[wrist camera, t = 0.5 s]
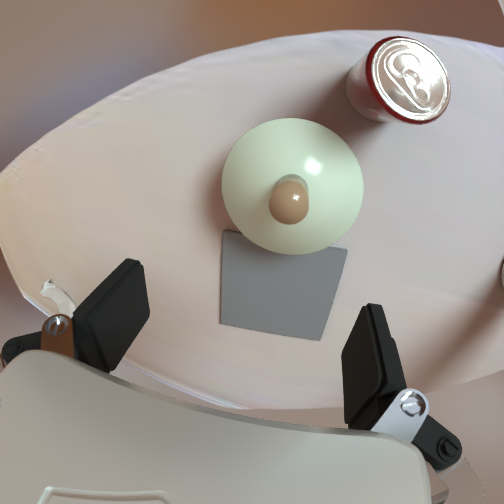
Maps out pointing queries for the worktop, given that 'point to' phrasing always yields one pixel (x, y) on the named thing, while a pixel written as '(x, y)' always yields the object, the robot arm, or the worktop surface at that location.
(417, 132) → the worktop surface
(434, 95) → the soda can
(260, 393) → the worktop surface
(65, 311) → the fabric
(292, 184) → the lid
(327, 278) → the mat
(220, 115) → the worktop surface
